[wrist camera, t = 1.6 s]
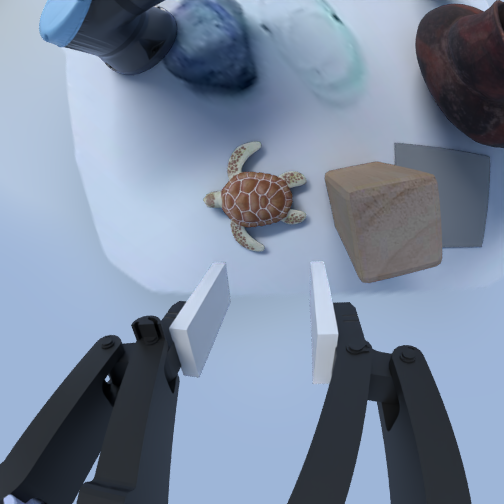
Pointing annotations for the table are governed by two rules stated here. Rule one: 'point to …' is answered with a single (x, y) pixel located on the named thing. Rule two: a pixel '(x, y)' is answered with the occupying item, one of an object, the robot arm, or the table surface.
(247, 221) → the decorative turtle
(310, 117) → the table surface
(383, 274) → the wooden block
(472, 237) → the mat
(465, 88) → the jug
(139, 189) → the table surface
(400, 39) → the table surface
